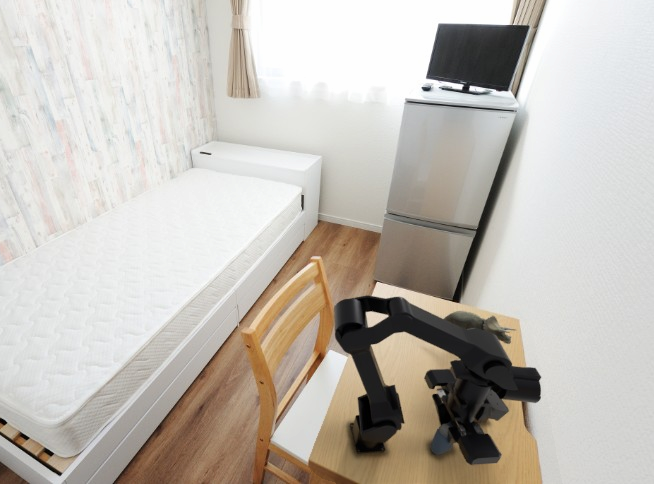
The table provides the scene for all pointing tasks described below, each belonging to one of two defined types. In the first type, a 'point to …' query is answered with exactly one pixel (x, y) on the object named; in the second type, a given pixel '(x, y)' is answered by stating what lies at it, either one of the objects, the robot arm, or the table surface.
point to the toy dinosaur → (479, 324)
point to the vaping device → (442, 438)
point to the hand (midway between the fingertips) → (446, 435)
